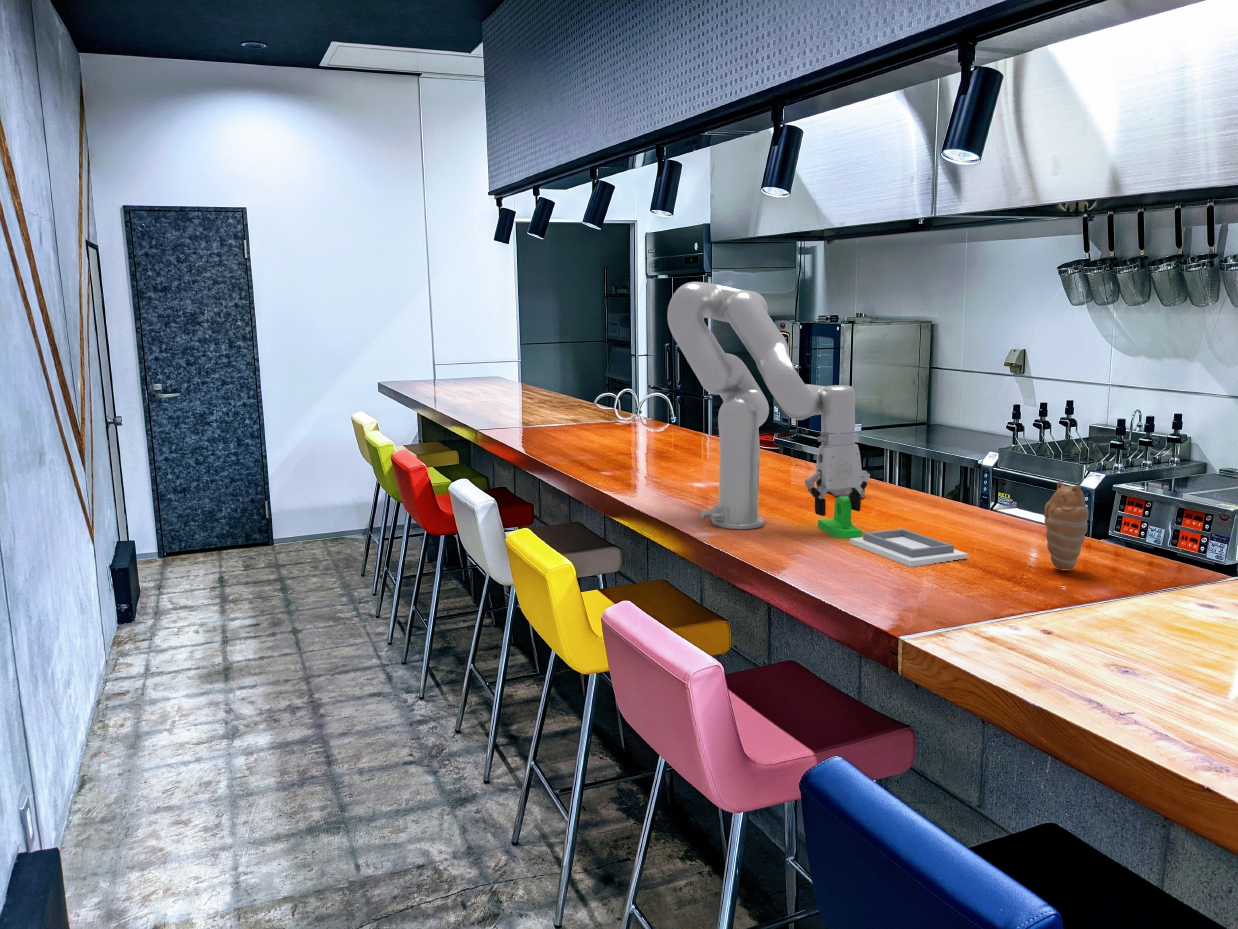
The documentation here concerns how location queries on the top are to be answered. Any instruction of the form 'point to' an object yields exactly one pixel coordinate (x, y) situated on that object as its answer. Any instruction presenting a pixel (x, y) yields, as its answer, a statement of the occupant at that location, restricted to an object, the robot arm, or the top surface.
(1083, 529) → the cat ice cream
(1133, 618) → the top surface
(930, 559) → the socket board
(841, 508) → the mechanical part
